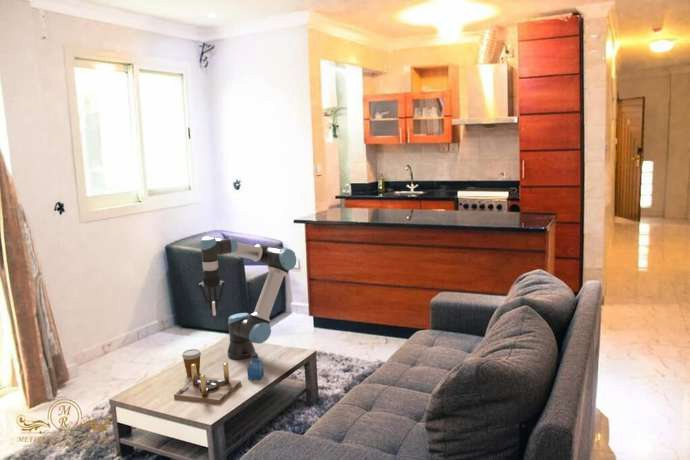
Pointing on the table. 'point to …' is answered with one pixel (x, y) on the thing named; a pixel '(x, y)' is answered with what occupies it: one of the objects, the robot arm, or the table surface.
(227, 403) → the table surface
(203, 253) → the robot arm
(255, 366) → the perfume bottle
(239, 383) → the stand
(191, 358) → the disposable coffee cup
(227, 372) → the capstan
